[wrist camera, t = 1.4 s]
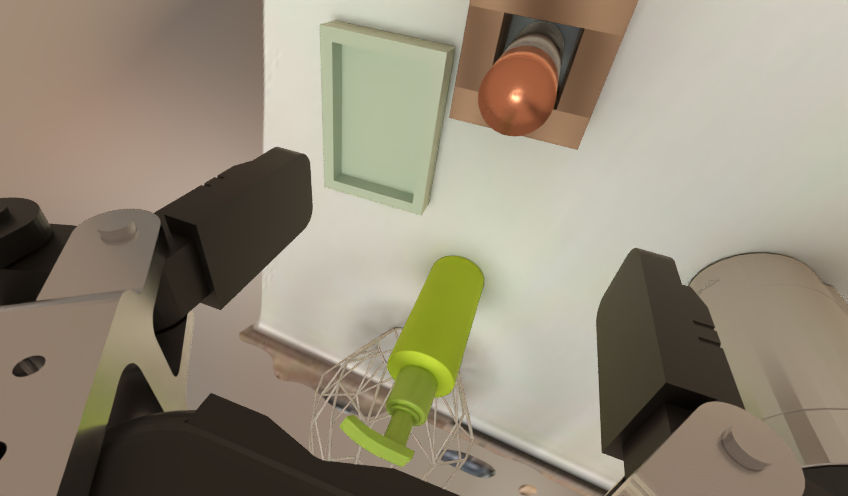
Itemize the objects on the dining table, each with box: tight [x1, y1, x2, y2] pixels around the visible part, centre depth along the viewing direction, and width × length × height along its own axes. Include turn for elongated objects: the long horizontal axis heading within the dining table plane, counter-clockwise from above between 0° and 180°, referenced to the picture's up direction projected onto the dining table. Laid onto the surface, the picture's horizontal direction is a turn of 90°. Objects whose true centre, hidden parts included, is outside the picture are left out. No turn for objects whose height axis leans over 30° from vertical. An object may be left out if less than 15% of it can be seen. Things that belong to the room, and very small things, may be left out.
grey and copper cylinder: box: [478, 21, 564, 136], centre depth 23 cm, size 4×4×13 cm
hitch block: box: [449, 0, 638, 150], centre depth 26 cm, size 9×9×5 cm
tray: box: [320, 21, 455, 215], centre depth 34 cm, size 10×14×2 cm
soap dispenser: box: [340, 256, 484, 467], centre depth 35 cm, size 6×7×20 cm
